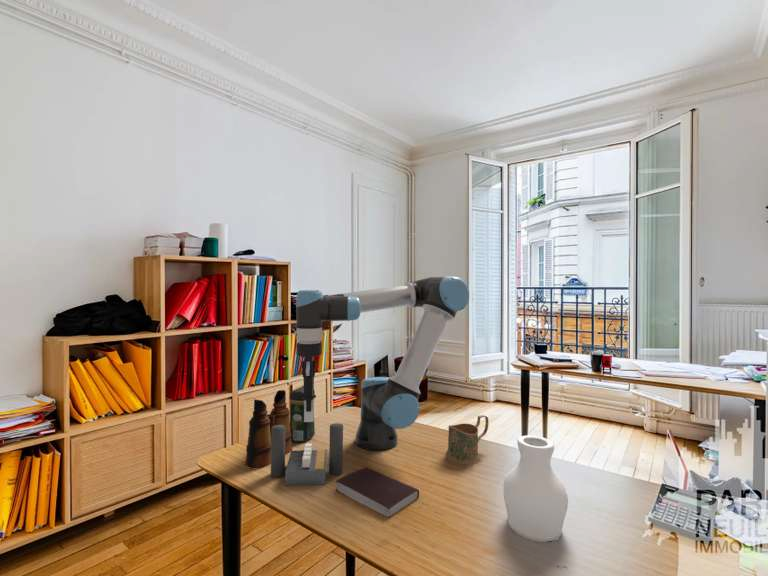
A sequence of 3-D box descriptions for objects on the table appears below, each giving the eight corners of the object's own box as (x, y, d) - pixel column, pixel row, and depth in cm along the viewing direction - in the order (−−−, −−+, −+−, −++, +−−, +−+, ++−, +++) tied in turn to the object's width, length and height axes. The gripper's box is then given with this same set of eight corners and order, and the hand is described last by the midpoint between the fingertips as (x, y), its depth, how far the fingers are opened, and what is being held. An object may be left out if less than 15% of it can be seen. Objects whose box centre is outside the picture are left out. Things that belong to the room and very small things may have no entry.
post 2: (342, 468, 120) (343, 423, 120) (342, 475, 116) (343, 427, 116) (329, 469, 119) (329, 423, 119) (328, 475, 116) (329, 428, 116)
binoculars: (260, 470, 118) (261, 404, 118) (239, 465, 121) (240, 400, 121) (297, 448, 135) (297, 390, 135) (277, 444, 138) (278, 387, 138)
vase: (582, 539, 88) (583, 450, 88) (527, 550, 84) (529, 457, 84) (539, 505, 101) (540, 428, 101) (490, 513, 97) (492, 432, 97)
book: (366, 475, 117) (366, 464, 117) (419, 499, 104) (419, 487, 104) (335, 492, 107) (335, 480, 107) (389, 520, 95) (389, 506, 95)
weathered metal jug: (500, 454, 132) (500, 419, 132) (463, 467, 122) (463, 429, 122) (474, 443, 142) (474, 409, 142) (437, 454, 132) (438, 418, 132)
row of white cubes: (311, 451, 122) (311, 443, 122) (309, 467, 111) (309, 458, 111) (305, 451, 122) (305, 443, 122) (302, 467, 111) (302, 459, 111)
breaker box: (326, 462, 124) (326, 449, 124) (325, 484, 110) (325, 469, 110) (290, 463, 123) (291, 450, 123) (285, 486, 109) (285, 470, 109)
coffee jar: (298, 432, 150) (299, 383, 150) (317, 434, 148) (318, 385, 148) (285, 441, 141) (286, 389, 141) (305, 444, 138) (305, 391, 138)
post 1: (285, 471, 118) (286, 424, 118) (283, 477, 114) (284, 429, 114) (271, 471, 117) (272, 424, 117) (269, 478, 113) (270, 429, 113)
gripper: (298, 339, 123) (298, 414, 123) (293, 345, 110) (293, 429, 110) (322, 338, 124) (322, 413, 124) (321, 345, 111) (320, 428, 111)
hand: (308, 420), depth 117 cm, fingers closed
